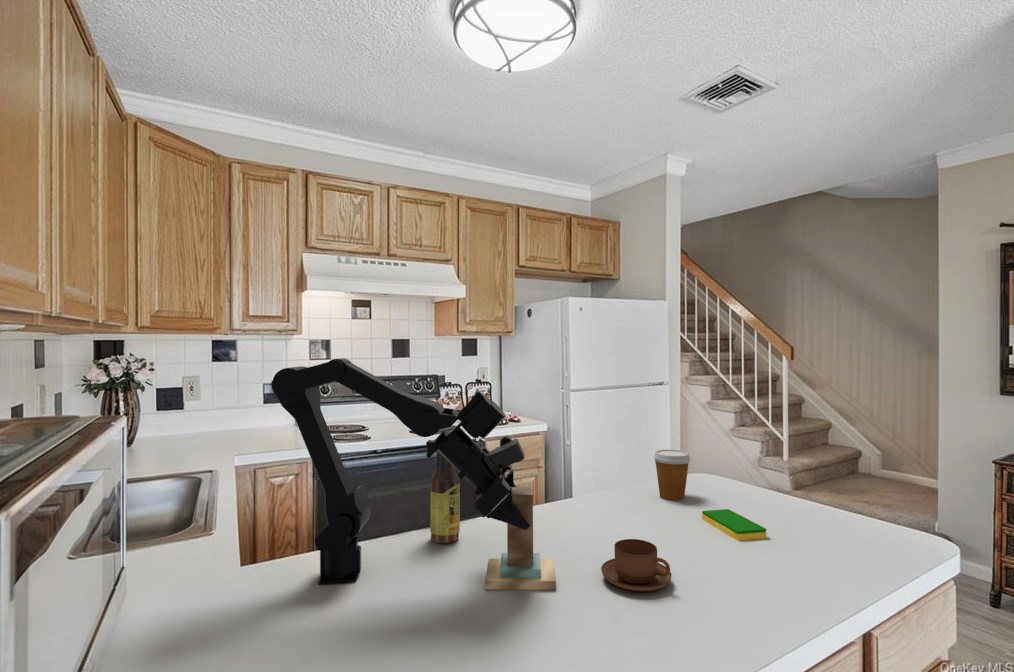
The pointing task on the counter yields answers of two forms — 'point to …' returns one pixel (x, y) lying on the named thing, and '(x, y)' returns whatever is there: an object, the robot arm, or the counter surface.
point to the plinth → (520, 582)
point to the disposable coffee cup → (671, 473)
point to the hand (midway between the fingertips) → (528, 518)
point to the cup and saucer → (636, 566)
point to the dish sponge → (734, 524)
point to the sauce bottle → (444, 502)
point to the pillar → (521, 530)
